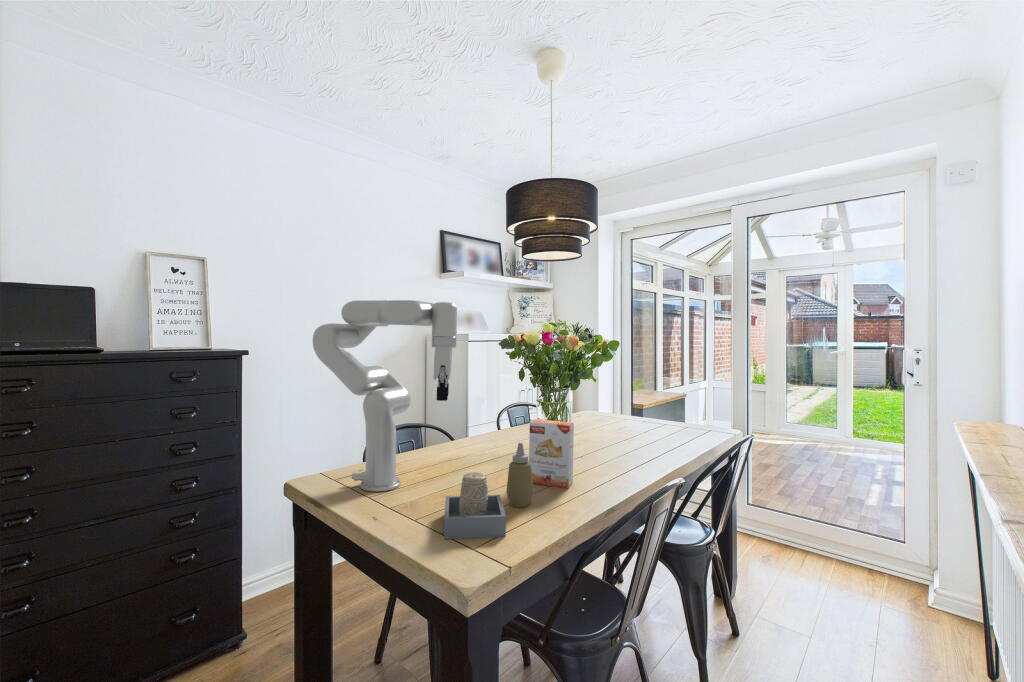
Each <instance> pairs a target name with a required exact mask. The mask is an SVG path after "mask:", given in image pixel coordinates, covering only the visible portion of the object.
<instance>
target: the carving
mask: <svg viewBox="0 0 1024 682" xmlns="http://www.w3.org/2000/svg"><path fill="white" fill-rule="evenodd" d="M488 495H489V493H488V479H487V476H486V475H485V474H484V473H482V472H475V471H469V472H467V473H465V474H464V475H463V476H462V480H461V486H460V494H459V496H460V502H459V511H460V516H485V513H486V508H487V502H488Z"/></svg>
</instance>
